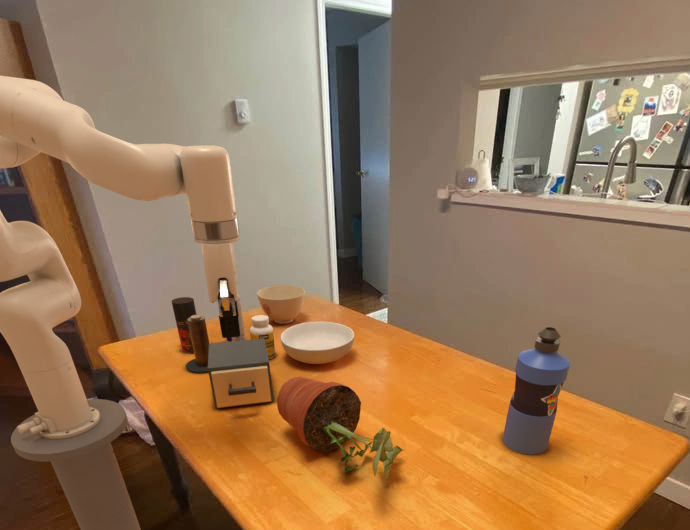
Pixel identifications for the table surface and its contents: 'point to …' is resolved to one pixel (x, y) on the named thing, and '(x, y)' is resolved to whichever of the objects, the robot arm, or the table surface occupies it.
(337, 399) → the potted plant
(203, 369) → the mat
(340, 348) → the serving bowl
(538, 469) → the table surface
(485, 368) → the table surface
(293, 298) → the bowl
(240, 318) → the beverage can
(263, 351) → the cabinet
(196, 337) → the pepper mill
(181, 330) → the deodorant
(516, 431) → the water bottle
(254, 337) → the pill bottle
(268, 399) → the drawer
